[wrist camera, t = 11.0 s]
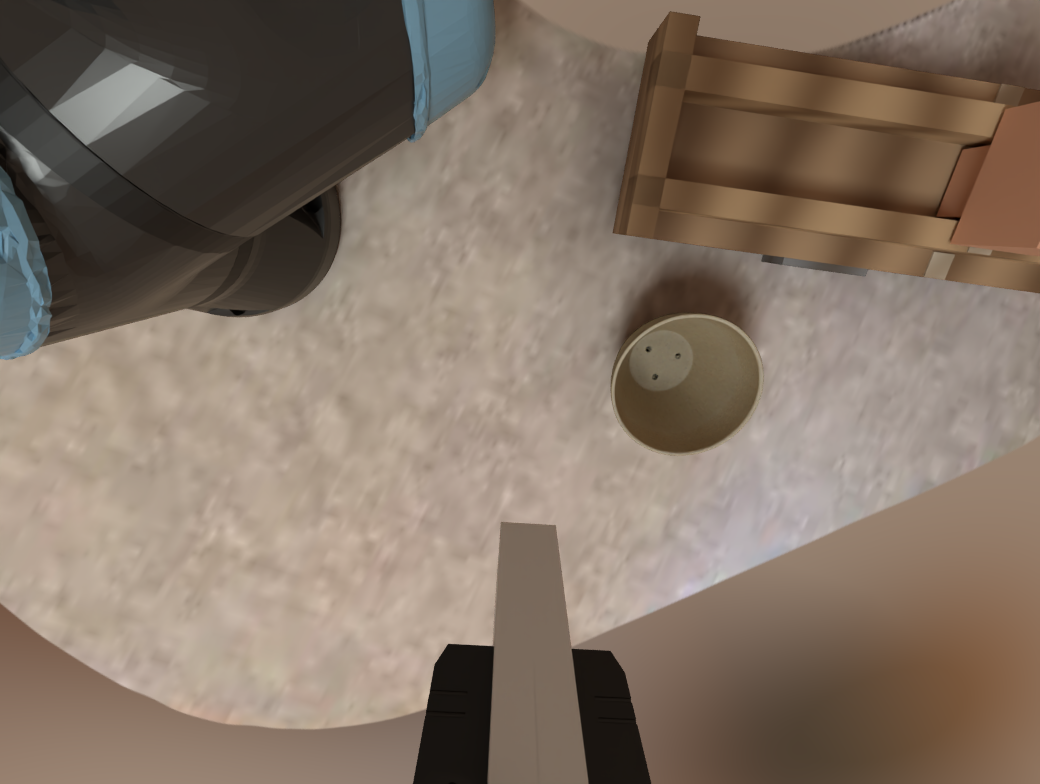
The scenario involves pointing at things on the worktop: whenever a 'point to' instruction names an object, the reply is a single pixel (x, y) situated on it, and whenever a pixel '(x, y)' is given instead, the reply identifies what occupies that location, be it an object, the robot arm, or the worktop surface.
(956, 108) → the wooden crate
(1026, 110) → the block
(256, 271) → the robot arm
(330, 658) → the worktop surface
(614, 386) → the flower pot
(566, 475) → the worktop surface
